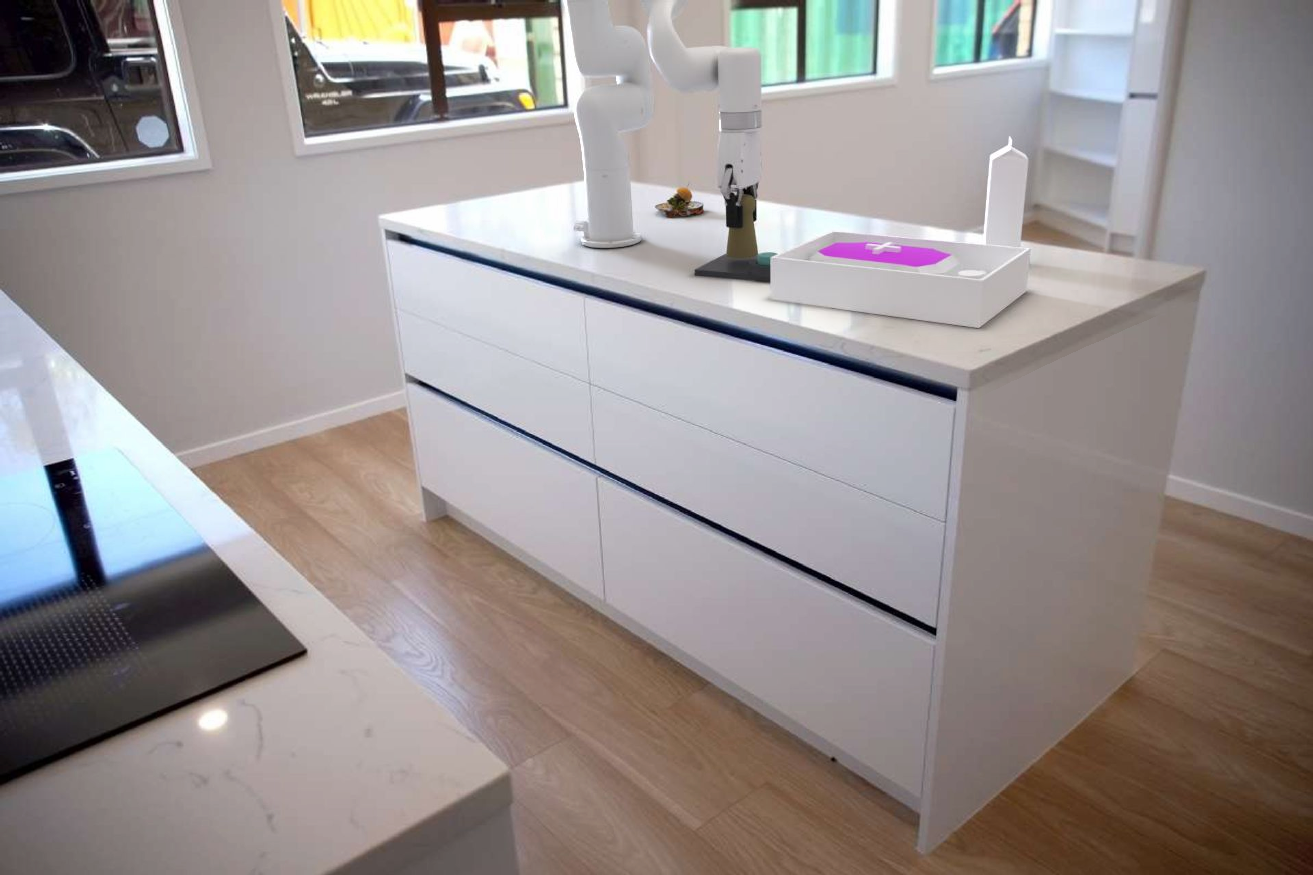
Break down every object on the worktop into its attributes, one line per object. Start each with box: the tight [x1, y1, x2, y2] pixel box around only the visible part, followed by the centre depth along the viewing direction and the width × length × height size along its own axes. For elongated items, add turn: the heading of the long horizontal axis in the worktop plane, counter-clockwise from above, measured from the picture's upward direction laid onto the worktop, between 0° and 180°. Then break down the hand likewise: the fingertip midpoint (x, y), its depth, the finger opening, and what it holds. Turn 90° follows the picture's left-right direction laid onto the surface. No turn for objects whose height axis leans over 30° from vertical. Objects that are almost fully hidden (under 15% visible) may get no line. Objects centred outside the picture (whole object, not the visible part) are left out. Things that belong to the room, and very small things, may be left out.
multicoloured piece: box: [654, 181, 705, 218], centre depth 237 cm, size 12×12×8 cm
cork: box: [725, 194, 759, 258], centre depth 184 cm, size 6×6×11 cm
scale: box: [693, 253, 771, 283], centre depth 183 cm, size 17×15×3 cm
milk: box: [982, 135, 1030, 248], centre depth 175 cm, size 6×6×22 cm
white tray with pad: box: [770, 230, 1031, 329], centre depth 162 cm, size 22×35×7 cm, turn 54°
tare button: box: [758, 251, 778, 265], centre depth 177 cm, size 4×4×2 cm
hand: (741, 223), depth 184 cm, fingers closed on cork, 5 cm apart
